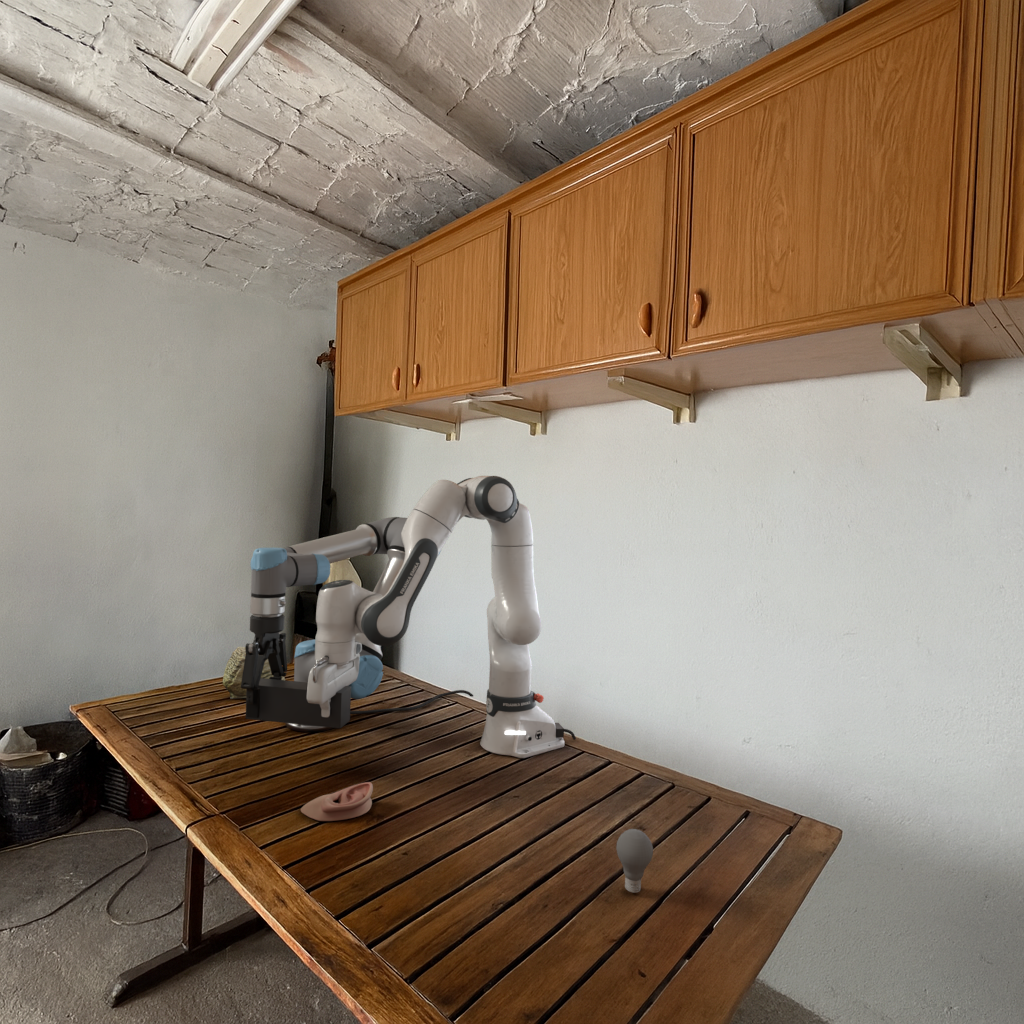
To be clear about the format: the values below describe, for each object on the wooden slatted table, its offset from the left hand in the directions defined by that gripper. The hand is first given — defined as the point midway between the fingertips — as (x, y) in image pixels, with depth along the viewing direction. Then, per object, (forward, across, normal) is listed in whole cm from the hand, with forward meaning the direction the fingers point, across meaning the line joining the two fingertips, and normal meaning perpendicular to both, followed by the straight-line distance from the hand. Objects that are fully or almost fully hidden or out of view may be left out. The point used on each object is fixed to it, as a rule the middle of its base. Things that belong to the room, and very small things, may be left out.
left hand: (264, 710), depth 148 cm
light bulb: (+13, -30, -84) cm, 90 cm away
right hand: (-1, 0, -17) cm, 17 cm away
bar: (+1, 0, -8) cm, 9 cm away
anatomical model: (+13, -16, -26) cm, 33 cm away
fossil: (+13, +46, +29) cm, 56 cm away
